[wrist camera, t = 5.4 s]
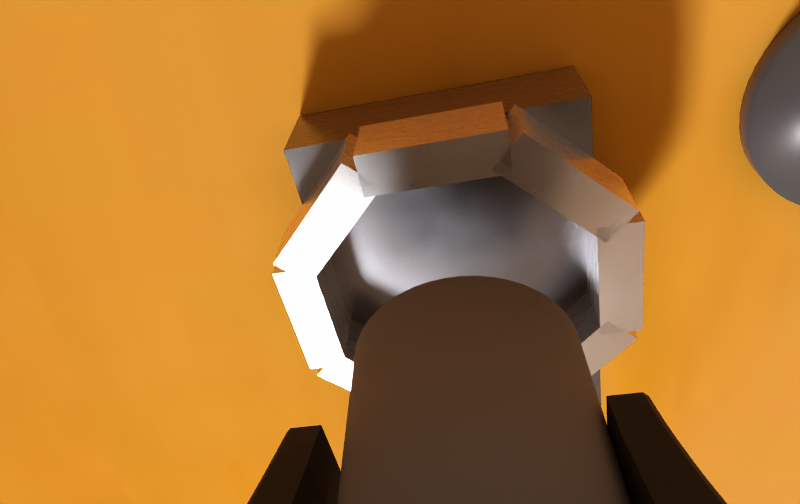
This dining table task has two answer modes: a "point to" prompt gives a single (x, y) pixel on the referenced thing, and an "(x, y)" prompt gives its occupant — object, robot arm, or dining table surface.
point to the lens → (475, 403)
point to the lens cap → (775, 114)
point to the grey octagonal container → (459, 212)
